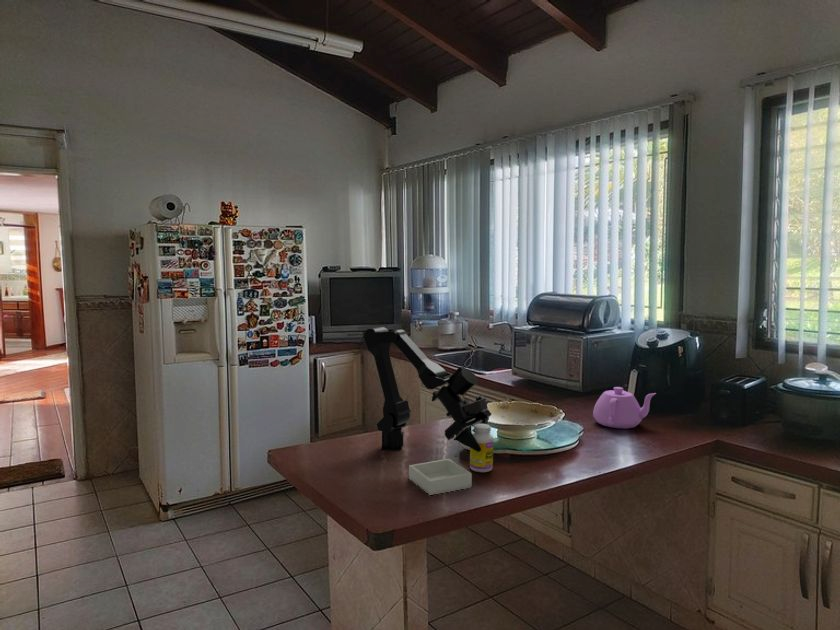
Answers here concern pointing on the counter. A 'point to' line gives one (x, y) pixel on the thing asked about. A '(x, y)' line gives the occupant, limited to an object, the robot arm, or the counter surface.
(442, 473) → the tote
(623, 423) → the teapot
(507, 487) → the counter surface
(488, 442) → the supplement bottle
